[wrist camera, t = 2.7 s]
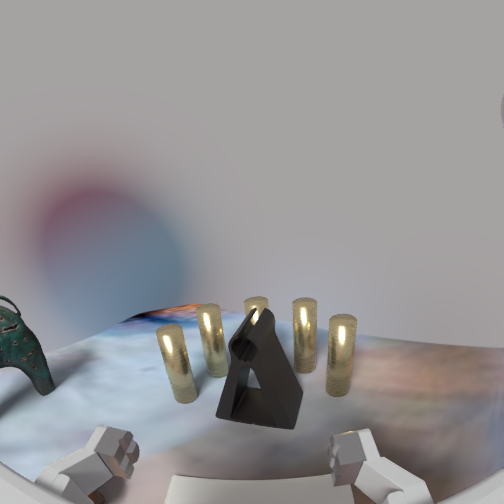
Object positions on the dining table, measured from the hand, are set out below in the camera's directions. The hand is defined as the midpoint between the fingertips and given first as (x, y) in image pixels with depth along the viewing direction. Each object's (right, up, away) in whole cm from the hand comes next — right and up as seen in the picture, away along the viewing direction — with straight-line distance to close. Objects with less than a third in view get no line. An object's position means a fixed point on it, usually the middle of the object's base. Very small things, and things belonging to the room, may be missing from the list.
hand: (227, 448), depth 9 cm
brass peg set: (+2, -9, +26) cm, 28 cm away
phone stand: (+2, -11, +21) cm, 23 cm away
